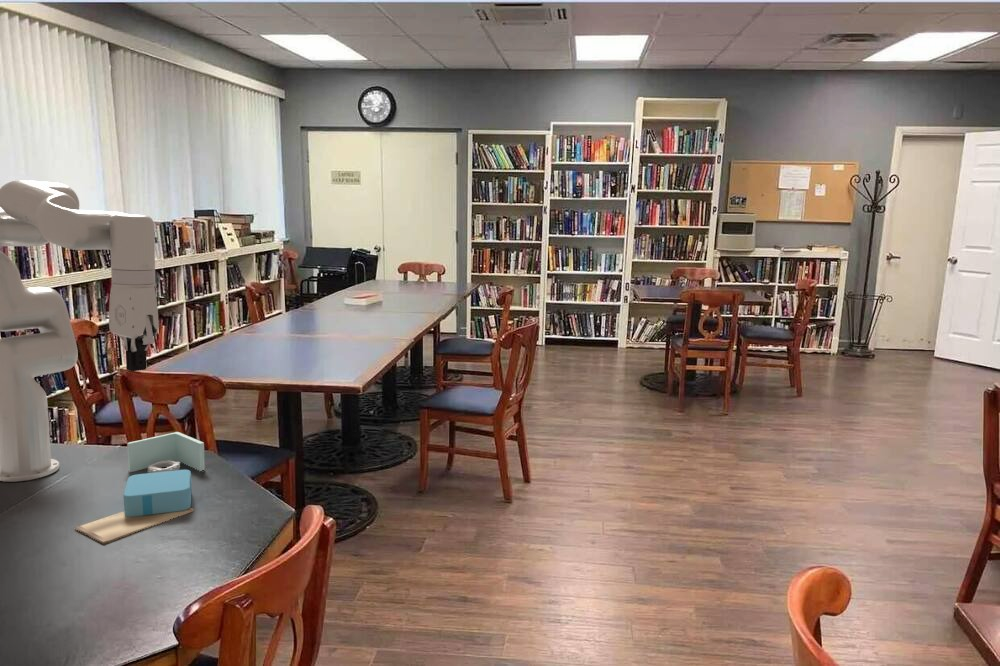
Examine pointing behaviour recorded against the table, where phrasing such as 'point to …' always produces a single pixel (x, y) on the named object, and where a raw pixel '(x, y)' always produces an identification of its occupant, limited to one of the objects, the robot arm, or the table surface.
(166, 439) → the mint corner bracket
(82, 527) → the wooden board
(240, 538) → the table surface
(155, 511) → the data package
